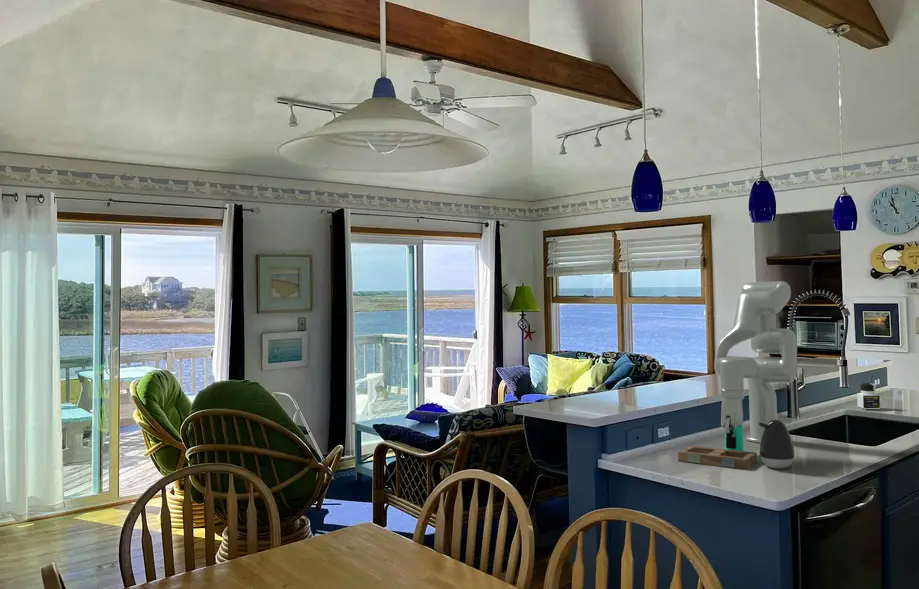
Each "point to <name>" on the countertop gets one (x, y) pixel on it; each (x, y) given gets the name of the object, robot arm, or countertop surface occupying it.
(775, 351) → the robot arm
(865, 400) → the medicine bottle
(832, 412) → the countertop surface
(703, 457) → the socket block
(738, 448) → the candle
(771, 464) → the pump dispenser
